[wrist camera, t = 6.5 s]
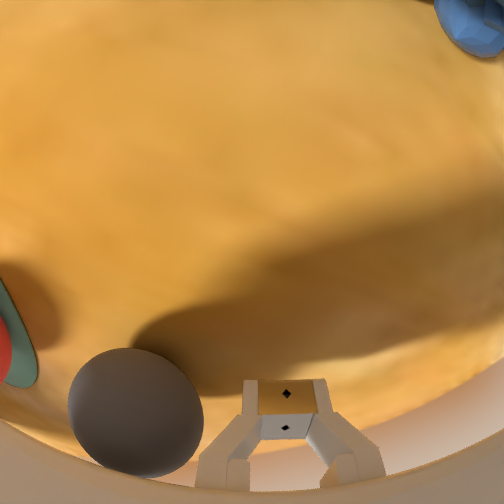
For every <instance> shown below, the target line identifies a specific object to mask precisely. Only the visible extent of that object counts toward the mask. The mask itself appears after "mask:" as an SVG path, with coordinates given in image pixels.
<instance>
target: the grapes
mask: <svg viewBox="0 0 504 504" xmlns="http://www.w3.org/2000/svg"><path fill="white" fill-rule="evenodd" d="M434 9H435V11H436V14H437V16H438V19H439V22H440V24H441V26H442V28H443V30H444V32H445V33H446V34H447V36H448V37H449V38H450V40H451V41H452V42H453V43H455V44H456V45H457V46H458V47H459V48H461V49H462V50H464V51H465V52H467V53H470V54H472V55H475V56H477V57H480V58H486V57H496V56H497V55H498V54H500V53H501V52H502V51H503V50H504V0H434Z"/></svg>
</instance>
